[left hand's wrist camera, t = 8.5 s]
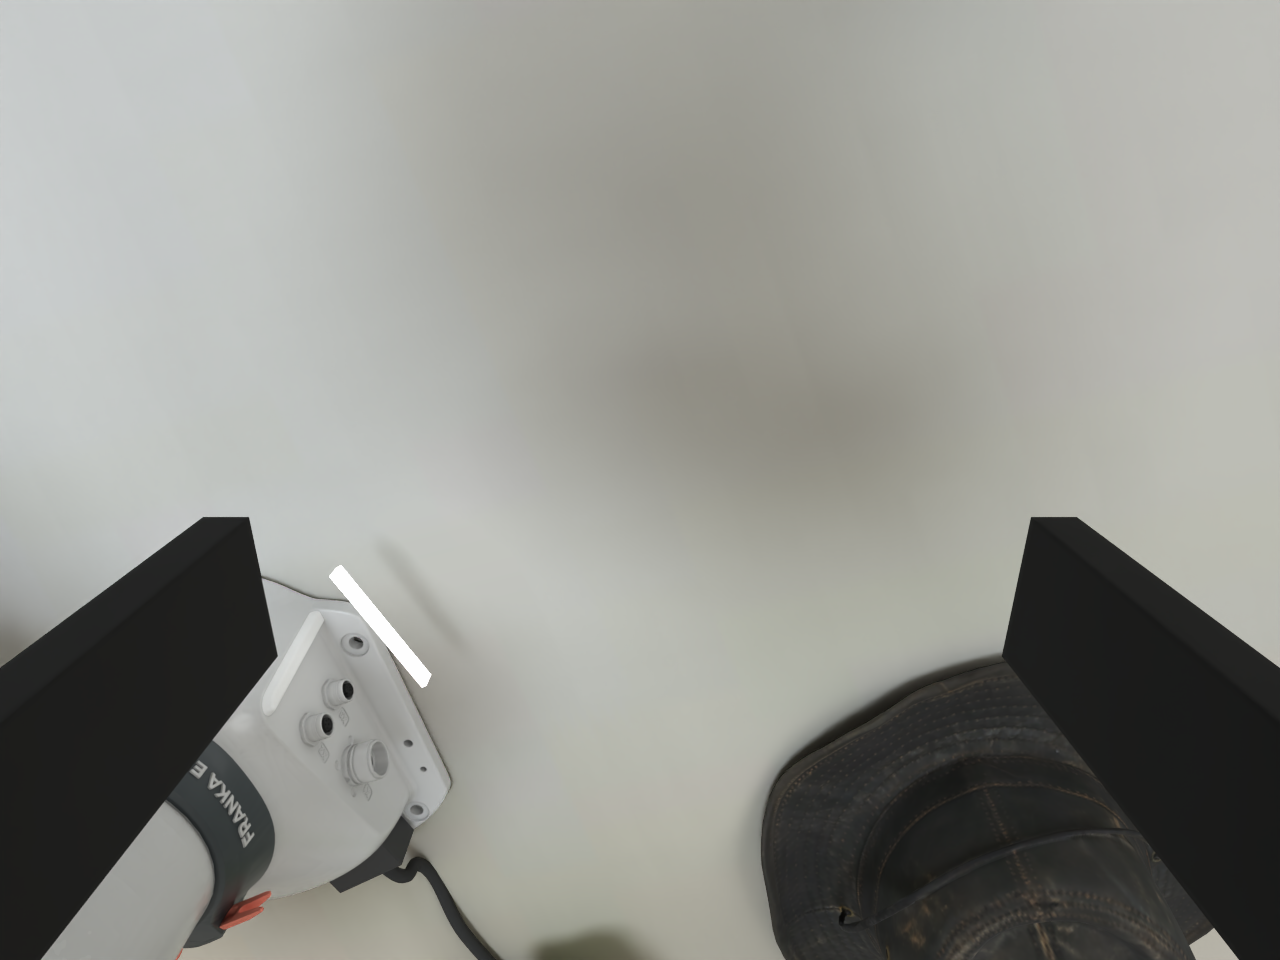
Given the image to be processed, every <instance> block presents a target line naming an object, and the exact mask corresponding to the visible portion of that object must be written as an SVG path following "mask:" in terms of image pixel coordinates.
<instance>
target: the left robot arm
mask: <svg viewBox="0 0 1280 960" xmlns="http://www.w3.org/2000/svg"><path fill="white" fill-rule="evenodd" d="M277 657H278V654H277V649H276V644H275V640H274V635H273V630H272V625H271V621H270V616H269V611H268V606H267V601H266V597H265V592H264V587H263V582H262V578H261V573H260V568H259V563H258V558H257V554H256V549H255V544H254V539H253V535H252V530H251V525H250V520H249V517H203V518H201V519H200V520H199V521H197V522H196V523H195V524H193V525H192V526H191V527H189V528H188V529H187V530H185V531H184V532H183V533H181V534H180V535H179V536H177V537H176V538H175V539H173V540H172V541H171V542H169V543H168V544H166V545H165V546H164V547H162V548H161V549H160V550H158V551H157V552H156V553H154V554H153V555H152V556H150V557H149V558H148V559H146V560H145V561H144V562H142V563H141V564H140V565H138V566H137V567H136V568H134V569H133V570H131V571H130V572H129V573H127V574H126V575H125V576H123V577H122V578H121V579H119V580H118V581H117V582H115V583H114V584H113V585H111V586H110V587H109V588H107V589H106V590H105V591H103V592H102V593H101V594H99V595H98V596H96V597H95V598H94V599H92V600H91V601H90V602H88V603H87V604H86V605H84V606H83V607H82V608H80V609H79V610H78V611H76V612H75V613H74V614H72V615H71V616H70V617H68V618H67V619H66V620H64V621H63V622H61V623H60V624H59V625H57V626H56V627H55V628H53V629H52V630H51V631H49V632H48V633H47V634H45V635H44V636H43V637H41V638H40V639H39V640H37V641H36V642H35V643H33V644H32V645H31V646H29V647H28V648H26V649H25V650H24V651H22V652H21V653H20V654H18V655H17V656H16V657H14V658H13V659H12V660H10V661H9V662H8V663H6V664H5V665H4V666H2V667H1V668H0V960H41V959H42V958H43V956H44V955H45V954H46V953H47V951H48V950H49V949H50V947H51V946H52V945H53V944H54V942H55V941H56V940H57V938H58V937H59V936H60V935H61V933H62V932H63V931H64V930H65V928H66V927H67V926H68V924H69V923H70V922H71V921H72V919H73V918H74V917H75V915H76V914H77V913H78V912H79V910H80V909H81V908H82V906H83V905H84V904H85V903H86V901H87V900H88V899H89V898H90V896H91V895H92V894H93V892H94V891H95V890H96V889H97V887H98V886H99V885H100V883H101V882H102V881H103V880H104V878H105V877H106V876H107V874H108V873H109V872H110V871H111V869H112V868H113V867H114V866H115V864H116V863H117V862H118V860H119V859H120V858H121V857H122V855H123V854H124V853H125V851H126V850H127V849H128V848H129V846H130V845H131V844H132V842H133V841H134V840H135V839H136V837H137V836H138V835H139V834H140V832H141V831H142V830H143V828H144V827H145V826H146V825H147V823H148V822H149V821H150V819H151V818H152V817H153V816H154V814H155V813H156V812H157V810H158V809H159V808H160V807H161V805H162V804H163V803H164V801H165V800H166V799H167V798H168V796H169V795H170V794H171V793H172V791H173V790H174V789H175V787H176V786H177V785H178V784H179V782H180V781H181V780H182V778H183V777H184V776H185V775H186V773H187V772H188V771H189V769H190V768H191V767H192V766H193V764H194V763H195V762H196V761H197V759H198V758H199V757H200V755H201V754H202V753H203V752H204V750H205V749H206V748H207V746H208V745H209V744H210V743H211V741H212V740H213V739H214V737H215V736H216V735H217V734H218V732H219V731H220V730H221V729H222V727H223V726H224V725H225V723H226V722H227V721H228V720H229V718H230V717H231V716H232V714H233V713H234V712H235V711H236V709H237V708H238V707H239V705H240V704H241V703H242V702H243V700H244V699H245V698H246V697H247V695H248V694H249V693H250V691H251V690H252V689H253V688H254V686H255V685H256V684H257V682H258V681H259V680H260V679H261V677H262V676H263V675H264V673H265V672H266V671H267V670H268V668H269V667H270V666H271V664H272V663H273V662H274V661H275V659H276V658H277ZM1002 657H1003V658H1004V659H1005V661H1006V662H1007V663H1008V665H1009V666H1010V667H1011V668H1012V670H1013V671H1014V672H1015V673H1016V675H1017V676H1018V677H1019V679H1020V680H1021V681H1022V682H1023V684H1024V685H1025V686H1026V688H1027V689H1028V690H1029V691H1030V693H1031V694H1032V695H1033V697H1034V698H1035V699H1036V700H1037V702H1038V703H1039V704H1040V705H1041V707H1042V708H1043V709H1044V711H1045V712H1046V713H1047V714H1048V716H1049V717H1050V718H1051V720H1052V721H1053V722H1054V723H1055V725H1056V726H1057V727H1058V729H1059V730H1060V731H1061V732H1062V734H1063V735H1064V736H1065V737H1066V739H1067V740H1068V741H1069V743H1070V744H1071V745H1072V746H1073V748H1074V749H1075V750H1076V752H1077V753H1078V754H1079V755H1080V757H1081V758H1082V759H1083V761H1084V762H1085V763H1086V764H1087V766H1088V767H1089V768H1090V769H1091V771H1092V772H1093V773H1094V775H1095V776H1096V777H1097V778H1098V780H1099V781H1100V782H1101V784H1102V785H1103V786H1104V787H1105V789H1106V790H1107V791H1108V793H1109V794H1110V795H1111V796H1112V798H1113V799H1114V800H1115V801H1116V803H1117V804H1118V805H1119V807H1120V808H1121V809H1122V810H1123V812H1124V813H1125V814H1126V816H1127V817H1128V818H1129V819H1130V821H1131V822H1132V823H1133V825H1134V826H1135V827H1136V828H1137V830H1138V831H1139V832H1140V834H1141V835H1142V836H1143V837H1144V839H1145V840H1146V841H1147V842H1148V844H1149V845H1150V846H1151V848H1152V849H1153V850H1154V851H1155V853H1156V854H1157V855H1158V857H1159V858H1160V859H1161V860H1162V862H1163V863H1164V864H1165V866H1166V867H1167V868H1168V869H1169V871H1170V872H1171V873H1172V874H1173V876H1174V877H1175V878H1176V880H1177V881H1178V882H1179V883H1180V885H1181V886H1182V887H1183V889H1184V890H1185V891H1186V892H1187V894H1188V895H1189V896H1190V898H1191V899H1192V900H1193V901H1194V903H1195V904H1196V905H1197V906H1198V908H1199V909H1200V910H1201V912H1202V913H1203V914H1204V915H1205V917H1206V918H1207V919H1208V921H1209V922H1210V923H1211V924H1212V926H1213V927H1214V928H1215V930H1216V931H1217V932H1218V933H1219V935H1220V936H1221V937H1222V938H1223V940H1224V941H1225V942H1226V944H1227V945H1228V946H1229V947H1230V949H1231V950H1232V951H1233V953H1234V954H1235V955H1236V956H1237V958H1238V959H1239V960H1280V668H1279V667H1278V666H1276V665H1275V664H1274V663H1272V662H1271V661H1270V660H1268V659H1267V658H1266V657H1264V656H1263V655H1262V654H1260V653H1259V652H1258V651H1256V650H1255V649H1254V648H1252V647H1251V646H1249V645H1248V644H1247V643H1245V642H1244V641H1243V640H1241V639H1240V638H1239V637H1237V636H1236V635H1235V634H1233V633H1232V632H1231V631H1229V630H1228V629H1227V628H1225V627H1224V626H1223V625H1221V624H1220V623H1219V622H1217V621H1216V620H1214V619H1213V618H1212V617H1210V616H1209V615H1208V614H1206V613H1205V612H1204V611H1202V610H1201V609H1200V608H1198V607H1197V606H1196V605H1194V604H1193V603H1192V602H1190V601H1189V600H1188V599H1186V598H1185V597H1184V596H1182V595H1181V594H1179V593H1178V592H1177V591H1175V590H1174V589H1173V588H1171V587H1170V586H1169V585H1167V584H1166V583H1165V582H1163V581H1162V580H1161V579H1159V578H1158V577H1157V576H1155V575H1154V574H1153V573H1151V572H1150V571H1149V570H1147V569H1146V568H1144V567H1143V566H1142V565H1140V564H1139V563H1138V562H1136V561H1135V560H1134V559H1132V558H1131V557H1130V556H1128V555H1127V554H1126V553H1124V552H1123V551H1122V550H1120V549H1119V548H1118V547H1116V546H1115V545H1114V544H1112V543H1111V542H1109V541H1108V540H1107V539H1105V538H1104V537H1103V536H1101V535H1100V534H1099V533H1097V532H1096V531H1095V530H1093V529H1092V528H1091V527H1089V526H1088V525H1087V524H1085V523H1084V522H1083V521H1081V520H1080V519H1079V518H1077V517H1031V520H1030V525H1029V530H1028V535H1027V539H1026V544H1025V549H1024V554H1023V558H1022V563H1021V568H1020V573H1019V578H1018V582H1017V587H1016V592H1015V597H1014V601H1013V606H1012V611H1011V616H1010V621H1009V625H1008V630H1007V635H1006V640H1005V644H1004V649H1003V654H1002Z"/></svg>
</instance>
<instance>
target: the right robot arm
mask: <svg viewBox="0 0 1280 960" xmlns="http://www.w3.org/2000/svg"><path fill="white" fill-rule="evenodd" d="M329 577H330V578H331V579H332V580H333V582H334V583H335V584H336V585H337V586H338V588H339V589H340V590H341V591H342V592H343V594H344V595H345V596H346V597H347V598H348V600H349V601H350V602H345V601H338V600H327V599H315V598H312V597H309V596H306V595H303V594H301V593H298V592H296V591H294V590H292V589H290V588H287V587H285V586H283V585H280V584H278V583H275V582H273V581H269V580H266V579H263V578H262V582H263V587H264V592H265V597H266V601H267V606H268V611H269V616H270V621H271V625H272V630H273V635H274V640H275V644H276V649H277V654H278V657H277V658H276V659H275V661H274V662H273V663H272V664H271V666H270V667H269V668H268V670H267V671H266V672H265V673H264V675H263V676H262V677H261V679H260V680H259V681H258V682H257V684H256V685H255V686H254V688H253V689H252V690H251V691H250V693H249V694H248V695H247V697H246V698H245V699H244V700H243V702H242V703H241V704H240V705H239V707H238V708H237V709H236V711H235V712H234V713H233V714H232V716H231V717H230V718H229V720H228V721H227V722H226V723H225V725H224V726H223V727H222V729H221V730H220V731H219V732H218V734H217V735H216V736H215V737H214V739H213V740H212V741H211V743H210V744H209V745H208V746H207V748H206V749H205V750H204V752H203V753H202V754H201V755H200V757H199V758H198V759H197V761H196V762H195V763H194V764H193V766H192V767H191V768H190V769H189V771H188V772H187V773H186V775H185V776H184V777H183V778H182V780H181V781H180V782H179V784H178V785H177V786H176V787H175V789H174V790H173V791H172V793H171V794H170V795H169V796H168V798H167V799H166V800H165V801H164V803H163V804H162V805H161V807H160V808H159V809H158V810H157V812H156V813H155V814H154V816H153V817H152V818H151V819H150V821H149V822H148V823H147V825H146V826H145V827H144V828H143V830H142V831H141V832H140V834H139V835H138V836H137V837H136V839H135V840H134V841H133V842H132V844H131V845H130V846H129V848H128V849H127V850H126V851H125V853H124V854H123V855H122V857H121V858H120V859H119V860H118V862H117V863H116V864H115V866H114V867H113V868H112V869H111V871H110V872H109V873H108V874H107V876H106V877H105V878H104V880H103V881H102V882H101V883H100V885H99V886H98V887H97V889H96V890H95V891H94V892H93V894H92V895H91V896H90V898H89V899H88V900H87V901H86V903H85V904H84V905H83V906H82V908H81V909H80V910H79V912H78V913H77V914H76V915H75V917H74V918H73V919H72V921H71V922H70V923H69V924H68V926H67V927H66V928H65V930H64V931H63V932H62V933H61V935H60V936H59V937H58V938H57V940H56V941H55V942H54V944H53V945H52V946H51V947H50V949H49V950H48V951H47V953H46V954H45V955H44V956H43V958H42V959H41V960H177V959H178V958H179V957H180V954H181V952H182V949H183V948H194V947H199V946H202V945H205V944H207V943H210V942H212V941H215V940H217V939H219V938H221V937H222V936H223V934H224V933H225V931H226V930H227V928H230V927H232V926H235V925H237V924H240V923H242V922H245V921H247V920H249V919H251V918H253V917H254V916H256V915H258V914H259V913H261V912H262V911H263V910H264V908H263V907H259V906H260V905H261V904H262V903H263V902H265V901H266V900H270V899H278V898H282V897H287V896H291V895H295V894H298V893H301V892H304V891H307V890H310V889H313V888H315V887H318V886H321V885H323V884H325V883H328V882H330V883H331V884H332V885H333V886H334V887H335V888H336V889H337V890H338V891H339V892H340V893H341V892H344V891H346V890H348V889H350V888H352V887H354V886H357V885H359V884H361V883H363V882H365V881H368V880H370V879H372V878H374V877H376V876H378V875H381V874H383V875H385V876H386V877H388V878H389V879H391V880H393V881H395V882H397V883H406V882H409V881H411V880H412V879H413V878H414V877H415V875H416V873H417V871H418V872H421V873H422V874H423V875H424V876H425V877H426V878H427V879H428V881H429V882H430V884H431V885H432V887H433V889H434V891H435V893H436V895H437V897H438V899H439V902H440V904H441V906H442V908H443V910H444V912H445V915H446V917H447V919H448V920H449V922H450V924H451V926H452V928H453V929H454V931H455V933H456V934H457V935H458V937H459V938H460V939H461V941H462V942H463V943H464V944H465V945H466V947H467V948H468V949H469V950H470V951H471V952H472V954H473V955H474V956H475V957H476V958H477V959H478V960H496V959H495V958H494V957H493V956H492V955H491V954H490V953H489V952H488V951H487V950H486V949H485V947H484V946H483V945H482V944H481V943H480V942H479V940H478V939H477V938H476V937H475V936H474V934H473V933H472V932H471V931H470V930H469V928H468V927H467V925H466V924H465V922H464V921H463V919H462V917H461V916H460V914H459V912H458V910H457V908H456V906H455V904H454V902H453V899H452V897H451V895H450V894H449V892H448V890H447V888H446V886H445V884H444V883H443V881H442V880H441V878H440V877H439V875H438V873H437V872H436V870H435V869H434V868H433V866H432V865H431V864H430V863H429V862H428V861H427V860H425V859H422V858H419V857H416V858H413V859H411V860H410V861H409V863H408V865H407V867H406V869H401V868H399V867H398V866H400V865H402V862H403V859H404V856H405V854H406V851H407V848H408V845H409V842H410V839H411V837H412V834H413V831H414V829H415V828H416V827H418V826H419V825H421V824H422V823H423V822H424V821H426V820H427V819H428V818H429V817H430V816H431V815H432V814H433V813H434V812H435V811H436V810H437V809H438V808H439V806H440V805H441V803H442V802H443V800H444V799H445V797H446V795H447V793H448V791H449V789H450V786H451V780H450V777H449V775H448V772H447V770H446V768H445V766H444V764H443V762H442V760H441V758H440V756H439V754H438V752H437V749H436V747H435V745H434V743H433V741H432V739H431V737H430V735H429V733H428V731H427V729H426V727H425V725H424V723H423V721H422V719H421V717H420V714H419V712H418V710H417V708H416V706H415V704H414V702H413V700H412V698H411V696H410V694H409V692H408V690H407V688H406V686H405V684H404V681H403V679H402V677H401V675H400V673H399V671H398V669H397V667H396V665H395V663H394V661H393V659H392V657H391V655H390V653H389V651H388V649H387V646H388V647H389V649H390V650H391V651H392V652H393V653H394V655H395V656H396V657H397V658H398V659H399V661H400V662H401V663H402V664H403V665H404V667H405V668H406V669H407V670H408V671H409V673H410V674H411V675H412V676H413V677H414V679H415V680H416V681H417V682H418V683H419V685H420V686H421V687H424V686H426V685H427V683H428V681H429V678H430V676H431V674H430V673H429V672H428V670H427V669H426V668H425V667H424V665H423V664H422V663H421V662H420V661H419V659H418V658H417V657H416V656H415V655H414V653H413V652H412V651H411V650H410V648H409V647H408V646H407V645H406V644H405V642H404V641H403V640H402V639H401V638H400V636H399V635H398V634H397V633H396V631H395V630H394V629H393V628H392V627H391V625H390V624H389V623H388V622H387V621H386V619H385V618H384V617H383V616H382V614H381V613H380V612H379V611H378V610H377V608H376V607H375V606H374V605H373V604H372V602H371V601H370V600H369V599H368V597H367V596H366V595H365V594H364V593H363V591H362V590H361V589H360V588H359V587H358V585H357V584H356V583H355V582H354V580H353V579H352V578H351V577H350V576H349V574H348V573H347V572H346V571H345V570H344V568H343V567H342V566H339V567H337V568H336V569H335V570H334V572H333V573H332V574H331V575H330V576H329ZM353 637H358V638H360V639H361V640H362V641H363V642H362V643H361V642H357V641H356V640H355V639H354V638H353ZM386 645H387V646H386ZM416 805H419V806H421V807H419V806H416ZM243 900H244V901H243Z"/></svg>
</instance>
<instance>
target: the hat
mask: <svg viewBox="0 0 1280 960" xmlns="http://www.w3.org/2000/svg"><path fill="white" fill-rule="evenodd" d="M761 862H762V869H763V875H764V880H765V885H766V890H767V896H768V901H769V907H770V913H771V920H772V927H773V932H774V935H775V939H776V942H777V944H778V946H779V948H780V950H781V952H782V954H783V956H784V958H785V959H786V960H1196V959H1195V957H1194V955H1193V953H1192V951H1191V948H1190V946H1189V945H1190V944H1192V943H1193V942H1195V941H1196V940H1198V939H1199V938H1201V937H1202V936H1204V935H1205V934H1207V933H1208V932H1209V931H1211V930H1212V929H1213V928H1214V927H1213V926H1212V924H1211V923H1210V922H1209V921H1208V919H1207V918H1206V917H1205V915H1204V914H1203V913H1202V912H1201V910H1200V909H1199V908H1198V906H1197V905H1196V904H1195V903H1194V901H1193V900H1192V899H1191V898H1190V896H1189V895H1188V894H1187V892H1186V891H1185V890H1184V889H1183V887H1182V886H1181V885H1180V883H1179V882H1178V881H1177V880H1176V878H1175V877H1174V876H1173V874H1172V873H1171V872H1170V871H1169V869H1168V868H1167V867H1166V866H1165V864H1164V863H1163V862H1162V860H1161V859H1160V858H1159V857H1158V855H1157V854H1156V853H1155V851H1154V850H1153V849H1152V848H1151V846H1150V845H1149V844H1148V842H1147V841H1146V840H1145V839H1144V837H1143V836H1142V835H1141V834H1140V832H1139V831H1138V830H1137V828H1136V827H1135V826H1134V825H1133V823H1132V822H1131V821H1130V819H1129V818H1128V817H1127V816H1126V814H1125V813H1124V812H1123V810H1122V809H1121V808H1120V807H1119V805H1118V804H1117V803H1116V801H1115V800H1114V799H1113V798H1112V796H1111V795H1110V794H1109V793H1108V791H1107V790H1106V789H1105V787H1104V786H1103V785H1102V784H1101V782H1100V781H1099V780H1098V778H1097V777H1096V776H1095V775H1094V773H1093V772H1092V771H1091V769H1090V768H1089V767H1088V766H1087V764H1086V763H1085V762H1084V761H1083V759H1082V758H1081V757H1080V755H1079V754H1078V753H1077V752H1076V750H1075V749H1074V748H1073V746H1072V745H1071V744H1070V743H1069V741H1068V740H1067V739H1066V737H1065V736H1064V735H1063V734H1062V732H1061V731H1060V730H1059V729H1058V727H1057V726H1056V725H1055V723H1054V722H1053V721H1052V720H1051V718H1050V717H1049V716H1048V714H1047V713H1046V712H1045V711H1044V709H1043V708H1042V707H1041V705H1040V704H1039V703H1038V702H1037V700H1036V699H1035V698H1034V697H1033V695H1032V694H1031V693H1030V691H1029V690H1028V689H1027V688H1026V686H1025V685H1024V684H1023V682H1022V681H1021V680H1020V679H1019V677H1018V676H1017V675H1016V673H1015V672H1014V671H1013V670H1012V668H1011V667H1010V666H1009V665H1008V663H1007V662H1003V663H999V664H995V665H991V666H986V667H982V668H978V669H975V670H972V671H969V672H965V673H962V674H959V675H956V676H953V677H950V678H948V679H945V680H943V681H939V682H935V683H933V684H931V685H928V686H925V687H923V688H921V689H919V690H917V691H915V692H913V693H911V694H910V695H908V696H907V697H905V698H904V699H902V700H901V701H899V702H898V703H896V704H895V705H894V706H892V707H891V708H889V709H888V710H886V711H885V712H883V713H881V714H879V715H878V716H876V717H874V718H873V719H871V720H870V721H868V722H866V723H865V724H863V725H861V726H859V727H857V728H855V729H854V730H852V731H850V732H848V733H846V734H844V735H843V736H841V737H840V738H838V739H836V740H835V741H833V742H831V743H830V744H828V745H826V746H824V747H823V748H821V749H819V750H817V751H814V752H812V753H811V754H809V755H807V756H806V757H804V758H802V759H801V760H800V761H798V762H797V763H795V764H794V765H793V766H792V767H791V768H789V769H788V770H787V771H786V772H785V773H784V774H783V775H782V776H781V777H780V779H779V780H778V782H777V783H776V785H775V787H774V789H773V791H772V793H771V795H770V797H769V801H768V804H767V808H766V812H765V816H764V820H763V828H762V838H761Z"/></svg>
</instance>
